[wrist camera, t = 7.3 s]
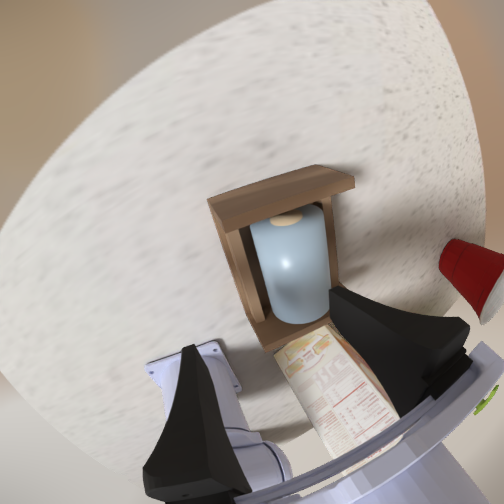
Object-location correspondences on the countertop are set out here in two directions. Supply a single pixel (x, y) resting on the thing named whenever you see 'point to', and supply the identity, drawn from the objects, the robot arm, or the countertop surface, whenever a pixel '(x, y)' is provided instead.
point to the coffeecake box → (337, 392)
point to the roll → (295, 263)
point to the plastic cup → (475, 276)
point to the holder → (243, 248)
